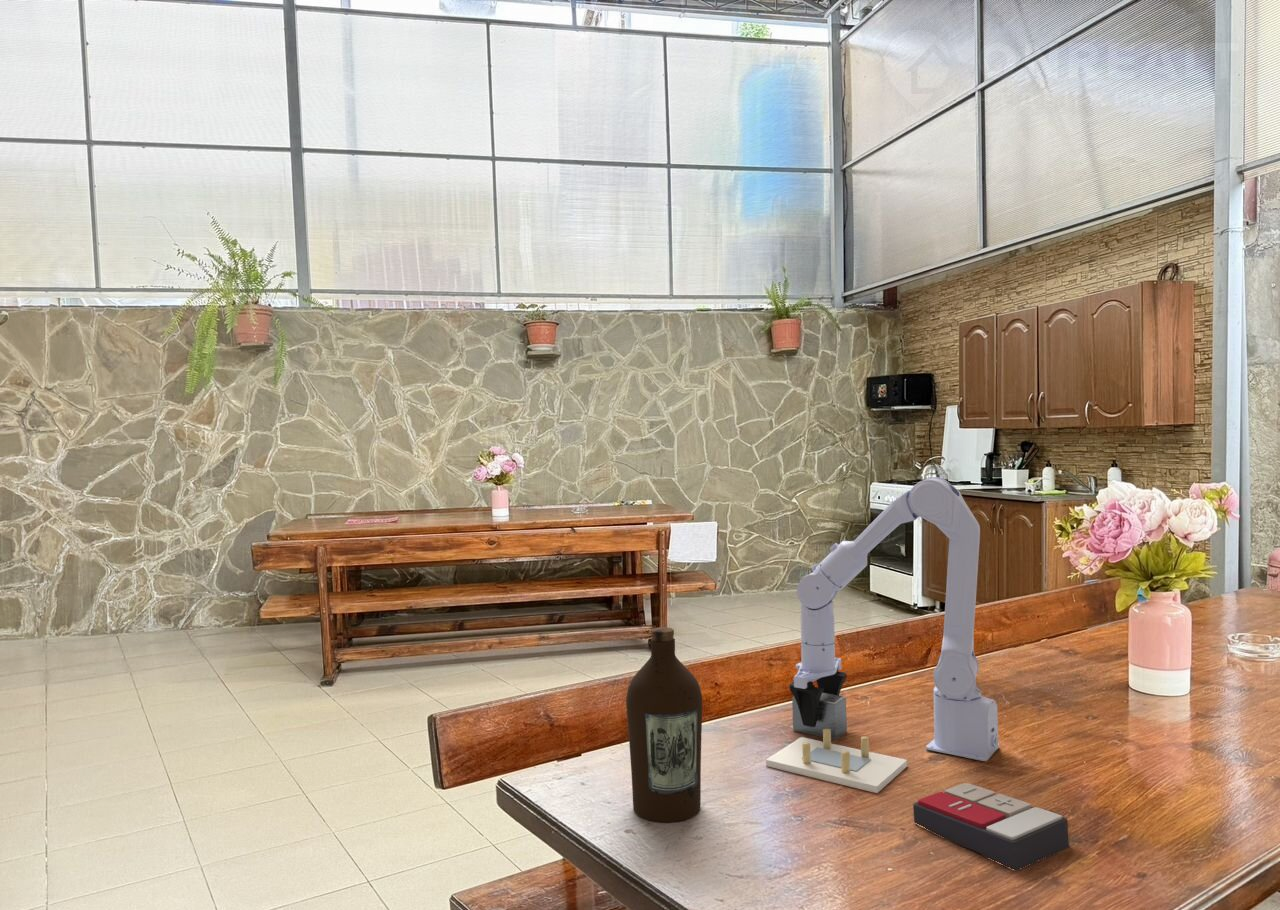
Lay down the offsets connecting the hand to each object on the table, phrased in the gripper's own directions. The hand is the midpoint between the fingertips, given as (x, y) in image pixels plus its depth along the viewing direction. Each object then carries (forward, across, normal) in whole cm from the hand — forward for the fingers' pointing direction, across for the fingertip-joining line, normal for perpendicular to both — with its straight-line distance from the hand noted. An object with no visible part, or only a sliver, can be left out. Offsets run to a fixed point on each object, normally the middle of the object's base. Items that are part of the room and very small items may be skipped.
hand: (819, 719), depth 146 cm
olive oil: (+2, +40, -4) cm, 40 cm away
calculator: (+2, +23, +34) cm, 41 cm away
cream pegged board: (+2, +13, +9) cm, 16 cm away
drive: (+2, 0, 0) cm, 2 cm away
